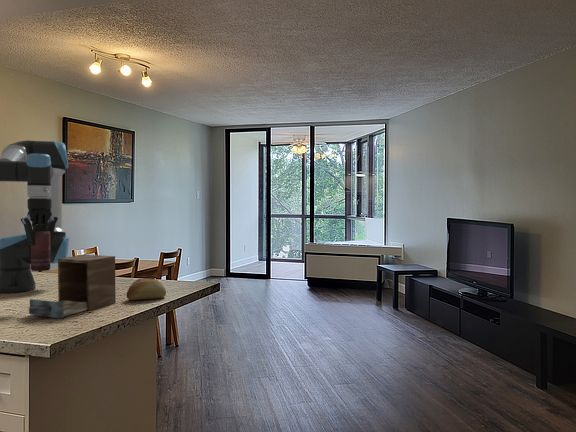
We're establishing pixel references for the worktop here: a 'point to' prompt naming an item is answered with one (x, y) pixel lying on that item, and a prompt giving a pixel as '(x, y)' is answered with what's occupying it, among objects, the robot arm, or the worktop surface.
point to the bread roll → (146, 289)
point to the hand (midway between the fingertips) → (40, 264)
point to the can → (40, 251)
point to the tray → (56, 308)
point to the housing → (87, 280)
